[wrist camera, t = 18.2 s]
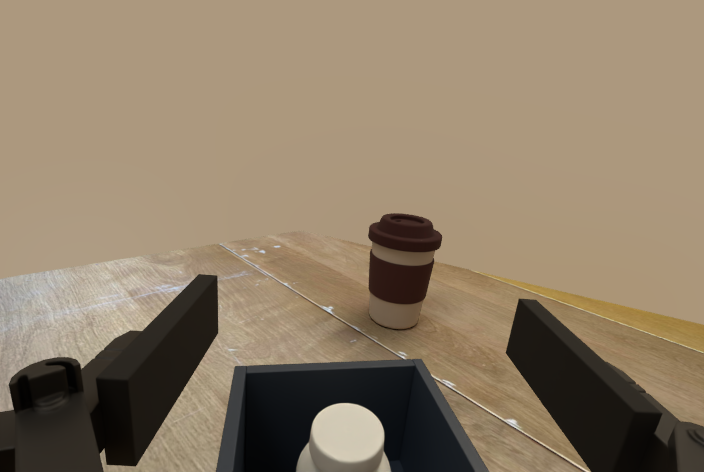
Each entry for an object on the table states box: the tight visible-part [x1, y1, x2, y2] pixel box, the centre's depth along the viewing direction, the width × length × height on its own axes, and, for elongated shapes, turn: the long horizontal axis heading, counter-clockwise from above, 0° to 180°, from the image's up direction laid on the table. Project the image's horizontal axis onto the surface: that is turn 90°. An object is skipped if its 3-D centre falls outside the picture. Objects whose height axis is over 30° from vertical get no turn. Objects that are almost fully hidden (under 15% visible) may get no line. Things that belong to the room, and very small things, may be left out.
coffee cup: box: [368, 214, 442, 329], centre depth 51 cm, size 10×10×15 cm
